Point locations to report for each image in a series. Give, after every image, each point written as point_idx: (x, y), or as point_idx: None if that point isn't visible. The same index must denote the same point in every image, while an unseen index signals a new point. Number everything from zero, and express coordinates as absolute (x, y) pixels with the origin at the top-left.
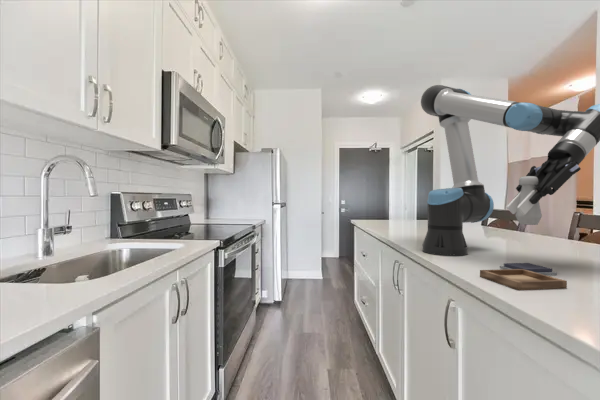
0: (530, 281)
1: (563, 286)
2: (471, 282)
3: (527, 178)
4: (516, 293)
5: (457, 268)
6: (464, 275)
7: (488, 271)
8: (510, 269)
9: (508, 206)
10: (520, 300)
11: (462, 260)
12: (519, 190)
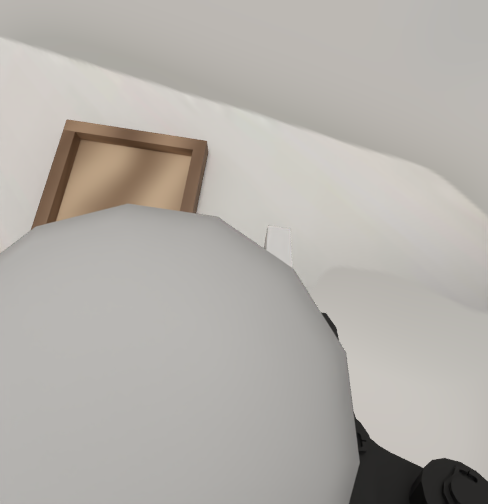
0: (60, 156)
1: None
2: (168, 90)
3: (31, 232)
4: (60, 108)
5: (315, 171)
6: (233, 126)
7: (184, 148)
8: None
9: (271, 229)
10: (24, 75)
11: (433, 287)
12: (391, 463)
